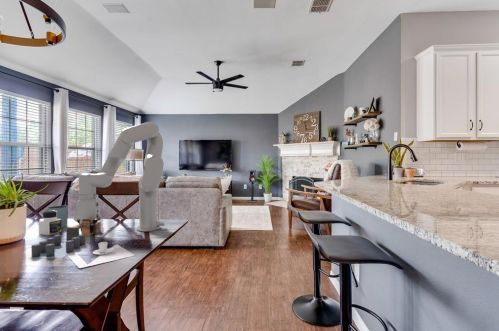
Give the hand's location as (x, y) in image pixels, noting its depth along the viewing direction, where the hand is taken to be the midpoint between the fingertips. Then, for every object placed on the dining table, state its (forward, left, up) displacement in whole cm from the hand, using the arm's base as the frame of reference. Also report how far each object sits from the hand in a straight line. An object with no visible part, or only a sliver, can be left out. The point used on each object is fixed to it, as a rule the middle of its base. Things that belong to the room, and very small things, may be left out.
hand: (87, 232), depth 139 cm
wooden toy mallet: (0, +3, -2) cm, 3 cm away
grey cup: (+27, -20, -2) cm, 34 cm away
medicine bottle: (+23, -7, -2) cm, 24 cm away
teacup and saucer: (-20, +30, -2) cm, 36 cm away
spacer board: (0, +23, -2) cm, 23 cm away
